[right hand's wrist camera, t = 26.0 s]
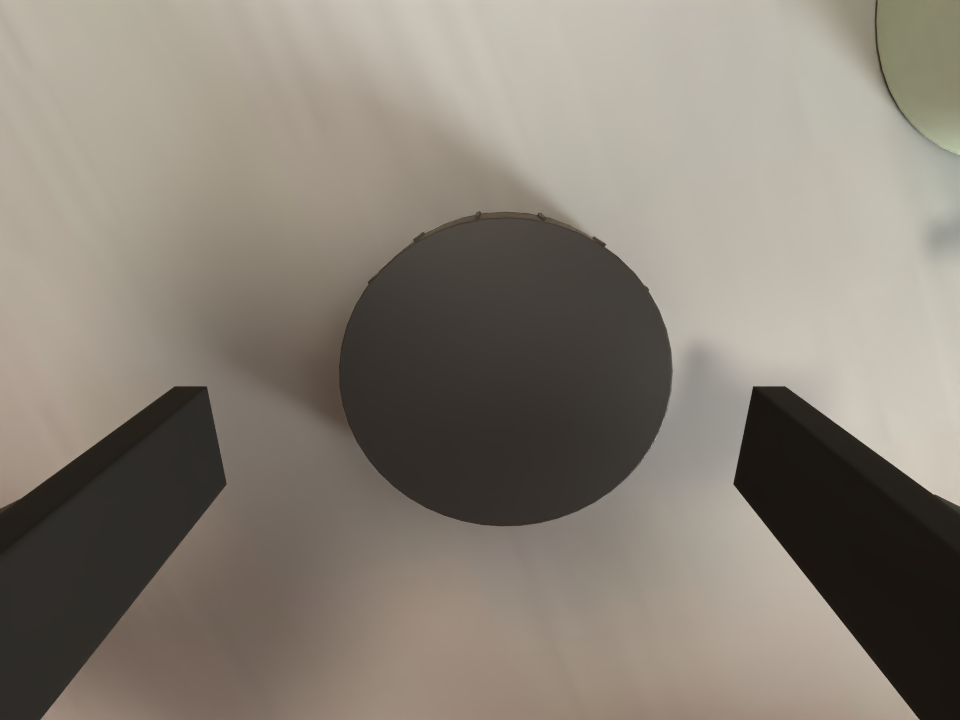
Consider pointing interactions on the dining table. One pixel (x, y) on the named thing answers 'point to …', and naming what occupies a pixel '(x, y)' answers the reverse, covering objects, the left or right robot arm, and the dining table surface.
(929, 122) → the jar
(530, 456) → the lid
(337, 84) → the dining table surface
